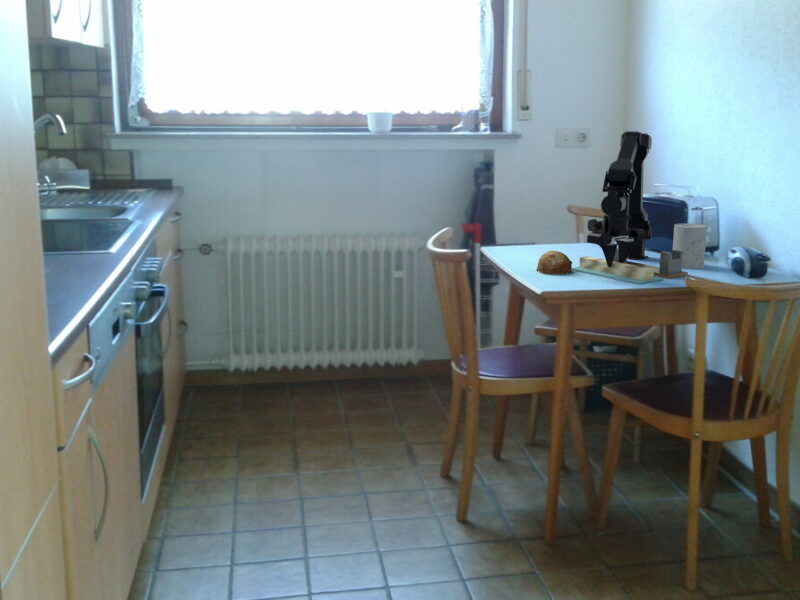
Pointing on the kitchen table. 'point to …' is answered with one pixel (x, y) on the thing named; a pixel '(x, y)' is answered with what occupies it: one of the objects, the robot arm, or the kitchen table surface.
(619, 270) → the rail
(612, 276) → the mat
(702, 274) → the kitchen table surface
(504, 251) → the kitchen table surface
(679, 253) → the bracketed wooden plank
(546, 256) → the bread roll
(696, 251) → the grey stone cylinder
